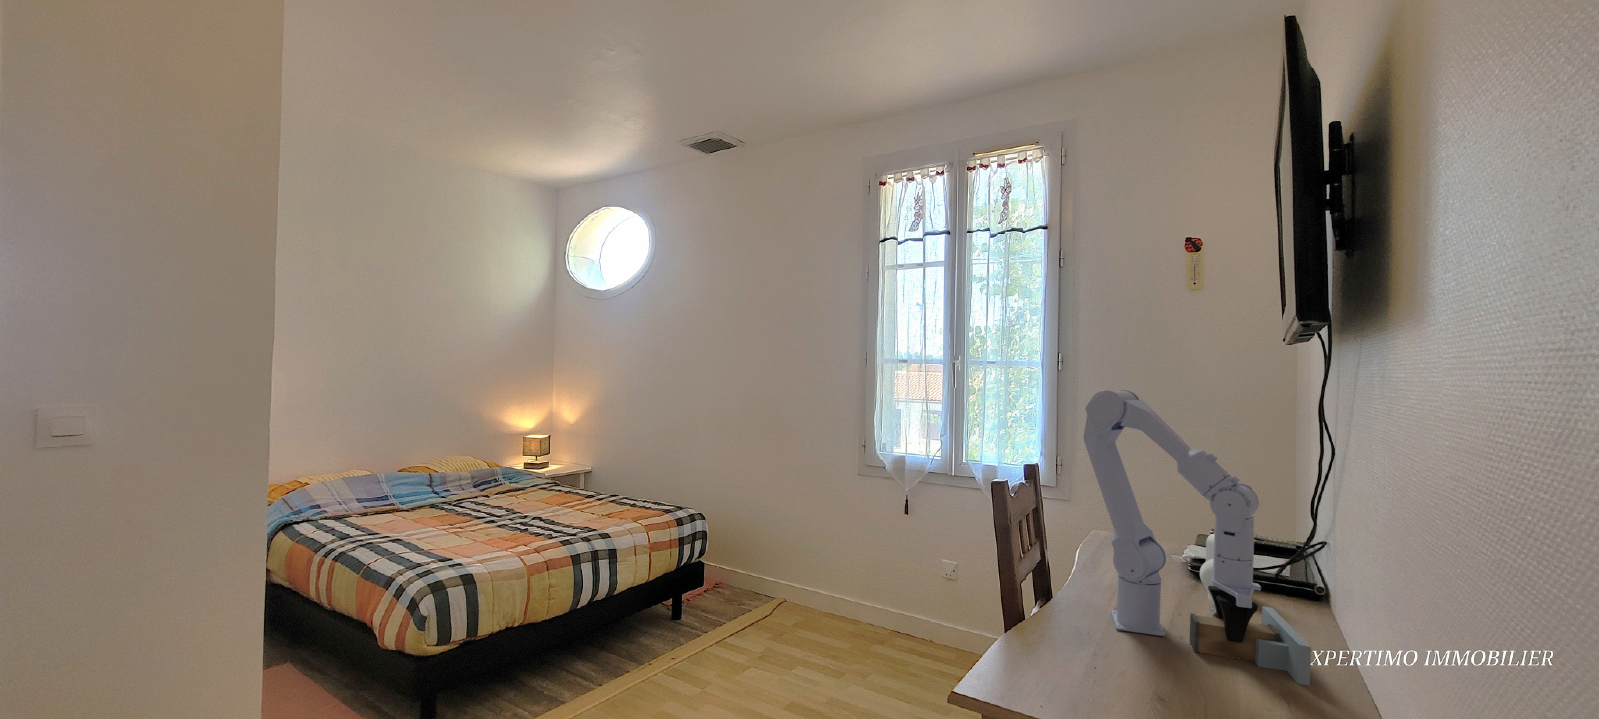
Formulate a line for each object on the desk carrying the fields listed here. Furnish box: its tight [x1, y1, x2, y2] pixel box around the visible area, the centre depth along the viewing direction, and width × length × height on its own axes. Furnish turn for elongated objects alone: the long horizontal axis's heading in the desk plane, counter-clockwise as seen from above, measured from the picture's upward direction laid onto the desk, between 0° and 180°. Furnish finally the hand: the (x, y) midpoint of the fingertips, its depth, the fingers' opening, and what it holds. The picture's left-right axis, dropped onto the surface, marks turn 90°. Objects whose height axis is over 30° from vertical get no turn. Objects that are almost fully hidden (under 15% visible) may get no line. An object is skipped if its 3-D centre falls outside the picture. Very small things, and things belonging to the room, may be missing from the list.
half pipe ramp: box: [1189, 612, 1280, 662], centre depth 116 cm, size 12×4×5 cm, turn 70°
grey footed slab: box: [1254, 605, 1312, 687], centre depth 114 cm, size 18×6×6 cm, turn 161°
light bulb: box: [1199, 559, 1217, 616], centre depth 134 cm, size 7×7×11 cm
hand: (1230, 636), depth 116 cm, fingers closed on half pipe ramp, 4 cm apart
